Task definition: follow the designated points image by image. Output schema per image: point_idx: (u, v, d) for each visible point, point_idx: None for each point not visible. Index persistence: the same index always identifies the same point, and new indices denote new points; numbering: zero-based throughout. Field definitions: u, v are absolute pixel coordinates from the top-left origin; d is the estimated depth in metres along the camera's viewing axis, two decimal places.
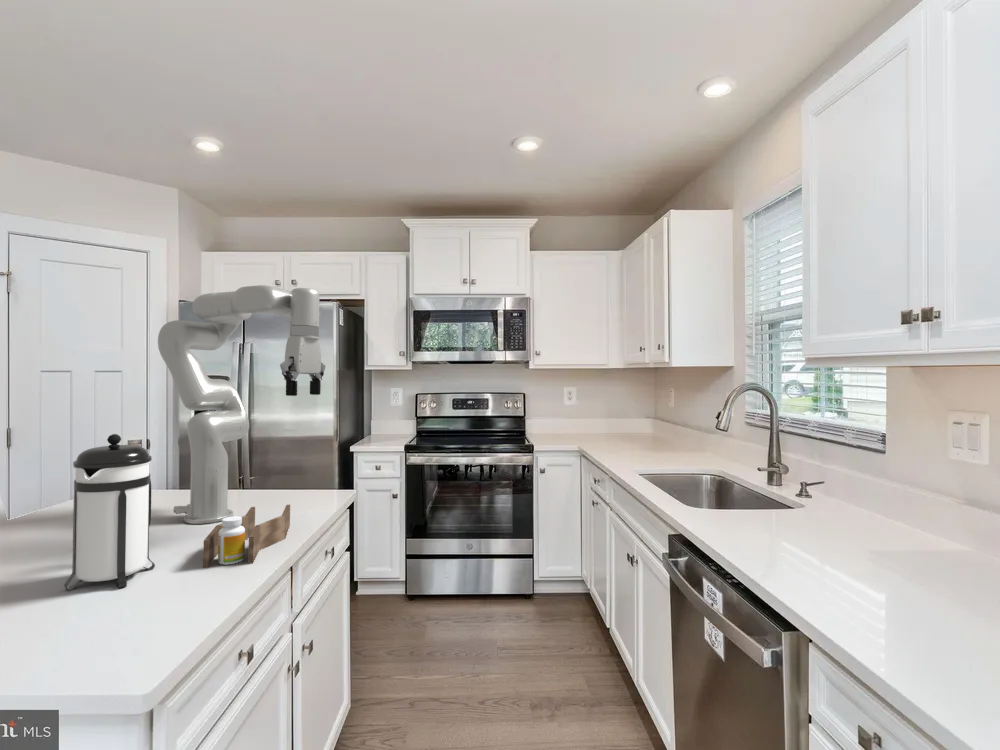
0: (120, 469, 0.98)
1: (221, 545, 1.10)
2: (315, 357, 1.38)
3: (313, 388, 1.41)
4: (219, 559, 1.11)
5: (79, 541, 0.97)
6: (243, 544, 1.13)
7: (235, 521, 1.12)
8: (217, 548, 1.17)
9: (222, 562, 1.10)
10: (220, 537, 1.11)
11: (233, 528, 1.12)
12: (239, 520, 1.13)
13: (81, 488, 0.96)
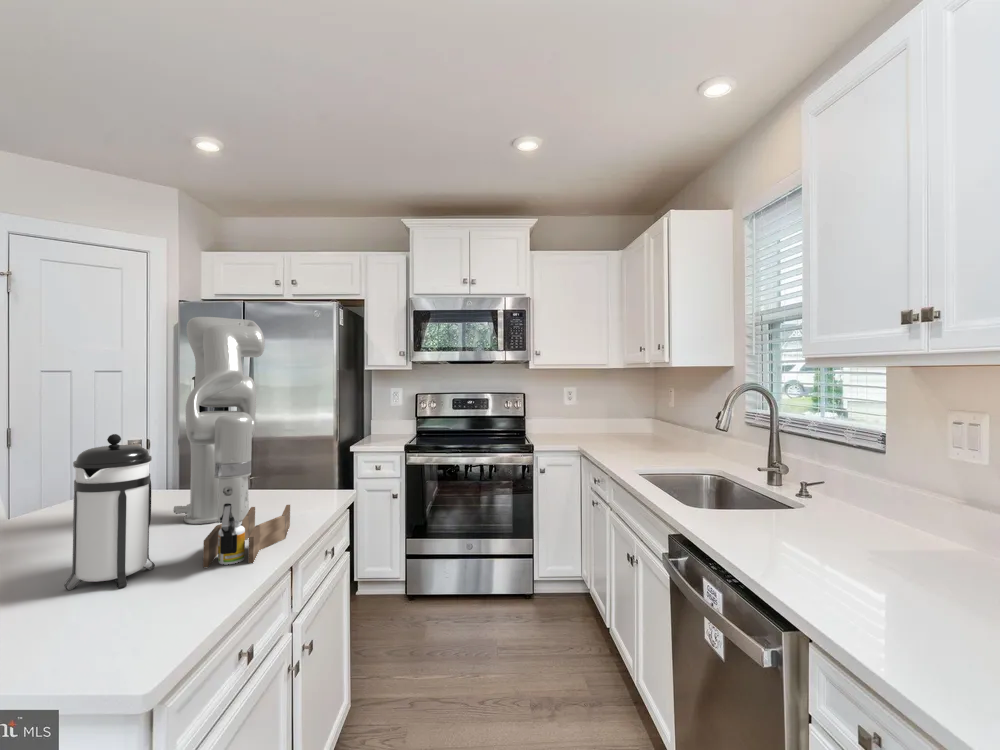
0: (120, 469, 0.98)
1: None
2: None
3: None
4: (219, 559, 1.11)
5: (79, 541, 0.97)
6: (243, 544, 1.13)
7: None
8: (217, 548, 1.17)
9: (222, 562, 1.10)
10: (220, 537, 1.11)
11: None
12: None
13: (81, 488, 0.96)
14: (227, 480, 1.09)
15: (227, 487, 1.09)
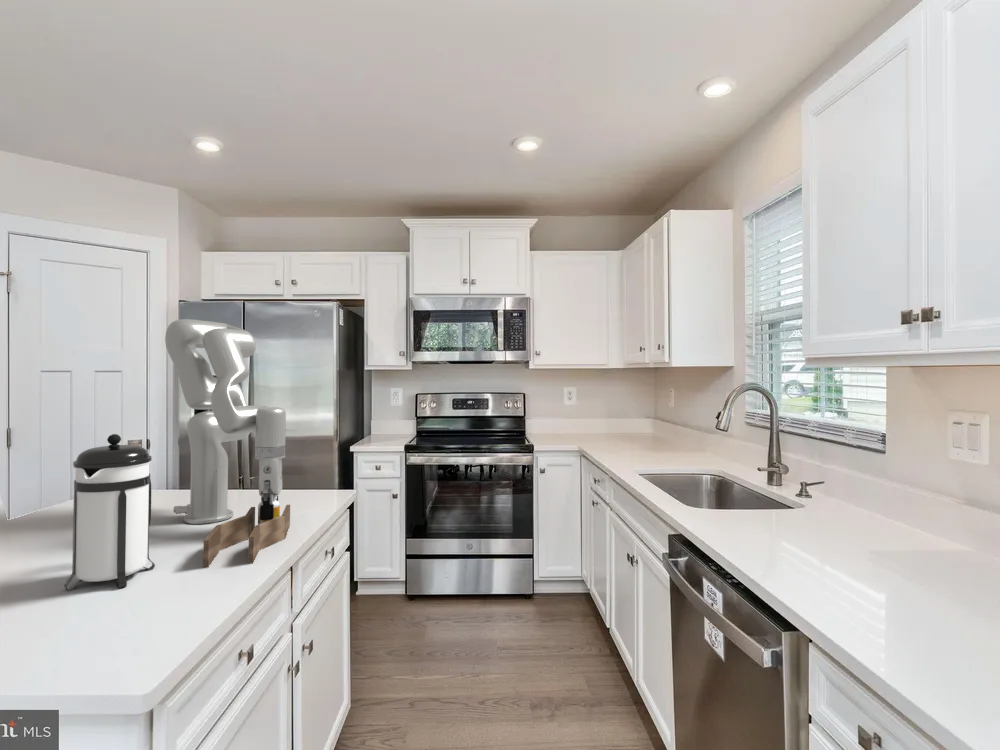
0: (120, 469, 0.98)
1: None
2: None
3: None
4: None
5: (79, 541, 0.97)
6: (278, 515, 1.36)
7: None
8: (217, 548, 1.17)
9: None
10: None
11: None
12: (275, 495, 1.35)
13: (81, 488, 0.96)
14: (267, 461, 1.31)
15: (266, 466, 1.32)
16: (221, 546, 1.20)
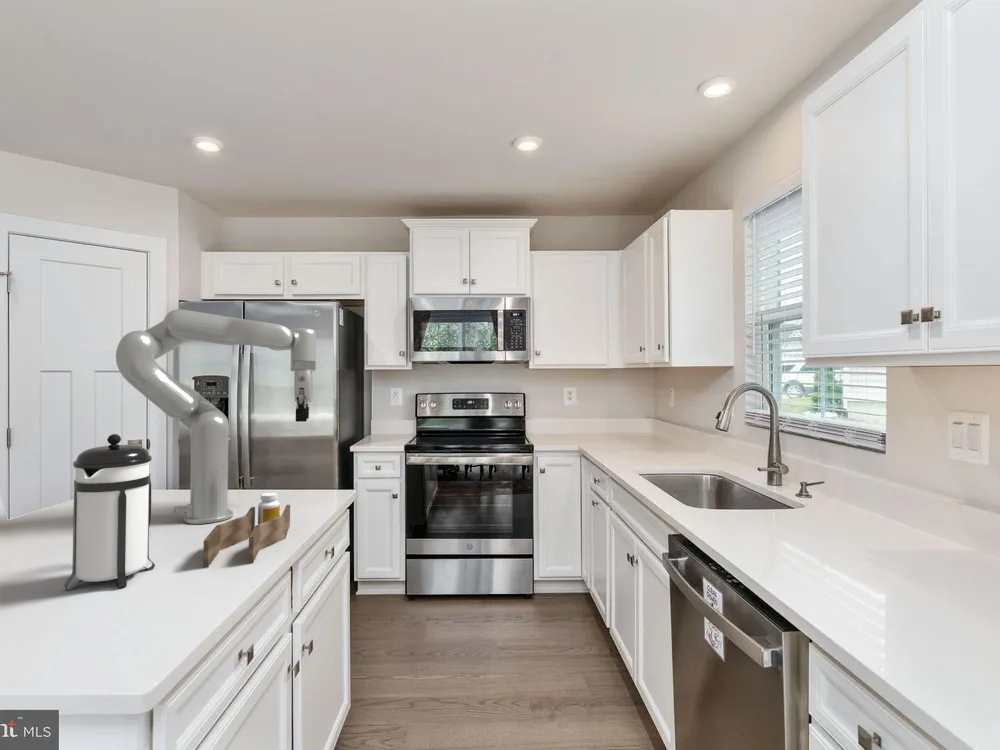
0: (120, 469, 0.98)
1: (261, 516, 1.33)
2: None
3: None
4: None
5: (79, 541, 0.97)
6: (278, 515, 1.36)
7: (272, 496, 1.34)
8: (217, 548, 1.17)
9: None
10: (260, 509, 1.33)
11: (271, 502, 1.34)
12: (275, 495, 1.35)
13: (81, 488, 0.96)
14: (301, 372, 1.54)
15: (301, 377, 1.55)
16: (221, 546, 1.20)
